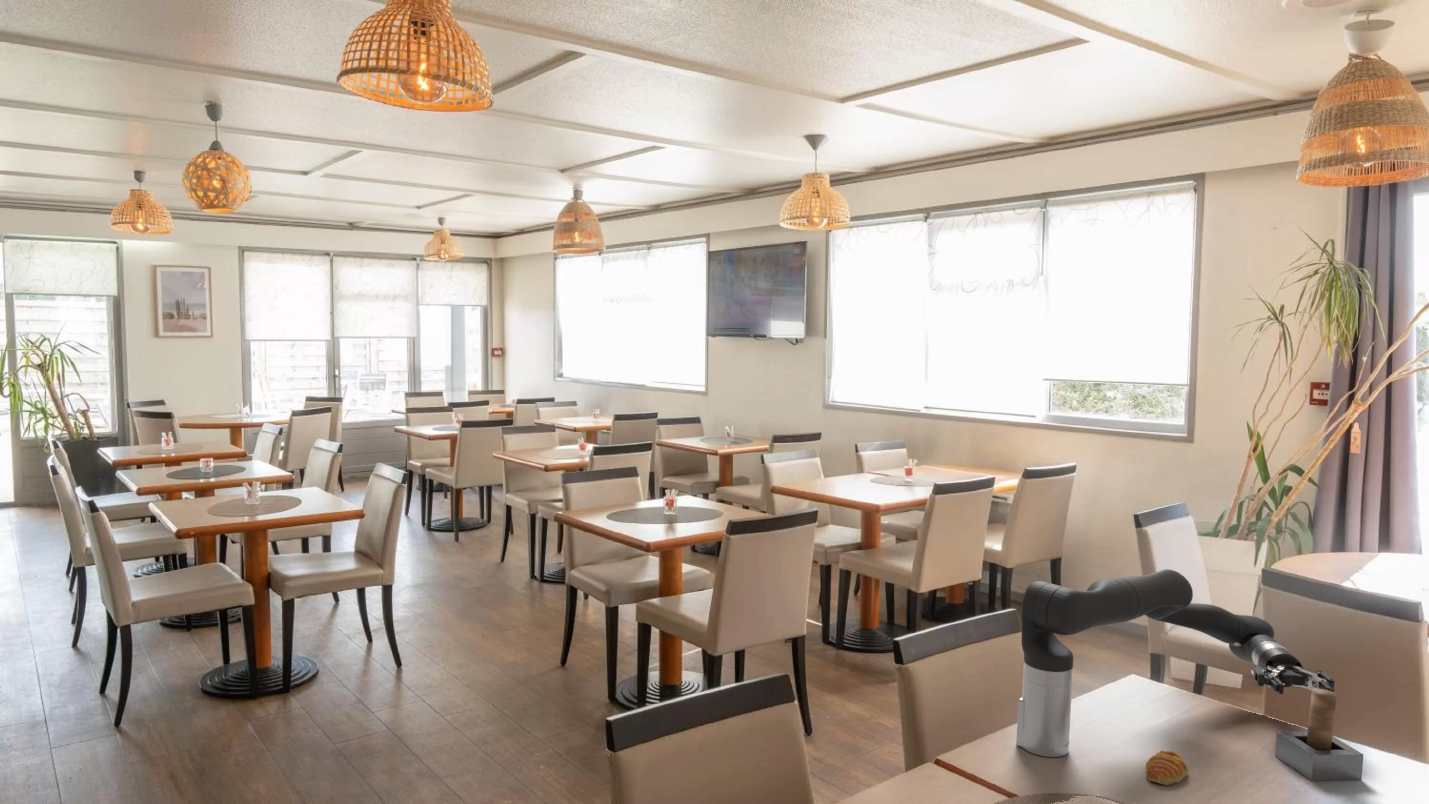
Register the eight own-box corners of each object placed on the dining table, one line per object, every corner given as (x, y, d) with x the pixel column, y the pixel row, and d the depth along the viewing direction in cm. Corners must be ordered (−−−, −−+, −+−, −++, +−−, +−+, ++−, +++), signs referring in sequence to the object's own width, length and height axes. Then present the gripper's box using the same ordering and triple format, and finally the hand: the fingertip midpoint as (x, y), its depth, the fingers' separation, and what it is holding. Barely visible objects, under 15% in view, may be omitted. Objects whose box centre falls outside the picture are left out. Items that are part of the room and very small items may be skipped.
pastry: (1175, 792, 168) (1177, 772, 167) (1137, 780, 172) (1138, 760, 172) (1190, 774, 175) (1191, 755, 174) (1152, 763, 179) (1153, 744, 179)
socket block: (1311, 780, 173) (1313, 755, 172) (1275, 756, 183) (1276, 731, 182) (1361, 779, 173) (1363, 754, 173) (1322, 755, 183) (1324, 731, 183)
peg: (1303, 762, 178) (1310, 692, 176) (1306, 755, 181) (1313, 686, 179) (1328, 769, 175) (1335, 698, 174) (1330, 761, 178) (1337, 692, 177)
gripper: (1241, 643, 203) (1267, 670, 187) (1313, 649, 200) (1346, 676, 184) (1239, 676, 204) (1265, 706, 188) (1311, 682, 200) (1343, 713, 185)
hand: (1305, 691), depth 186 cm, fingers open, 8 cm apart
